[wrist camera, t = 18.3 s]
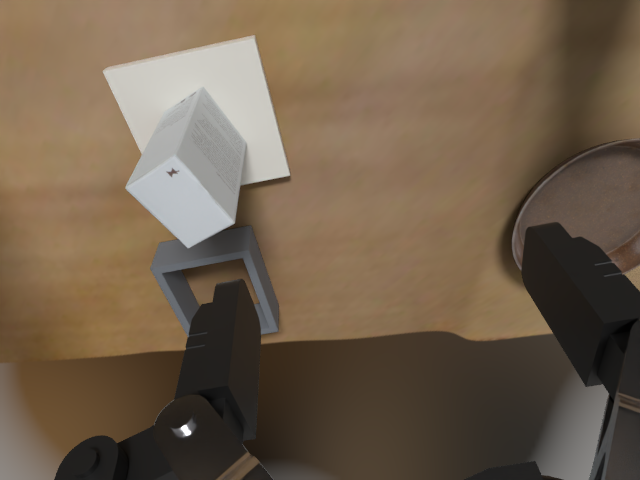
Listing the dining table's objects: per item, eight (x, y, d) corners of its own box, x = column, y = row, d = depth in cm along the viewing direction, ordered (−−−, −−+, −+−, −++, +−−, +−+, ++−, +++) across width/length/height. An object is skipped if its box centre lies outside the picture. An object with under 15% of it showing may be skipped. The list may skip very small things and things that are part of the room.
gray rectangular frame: (198, 319, 53) (193, 346, 50) (159, 242, 46) (150, 268, 43) (278, 305, 53) (278, 331, 50) (251, 225, 46) (248, 250, 43)
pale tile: (165, 194, 43) (163, 200, 42) (106, 67, 36) (102, 71, 35) (290, 170, 42) (290, 175, 42) (255, 34, 35) (254, 38, 34)
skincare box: (162, 111, 37) (120, 186, 28) (203, 84, 36) (174, 152, 27) (210, 167, 41) (187, 251, 31) (249, 143, 39) (238, 223, 30)
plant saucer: (682, 94, 41) (707, 107, 38) (673, 237, 51) (693, 254, 48) (486, 171, 44) (498, 187, 42) (514, 290, 54) (525, 309, 52)
